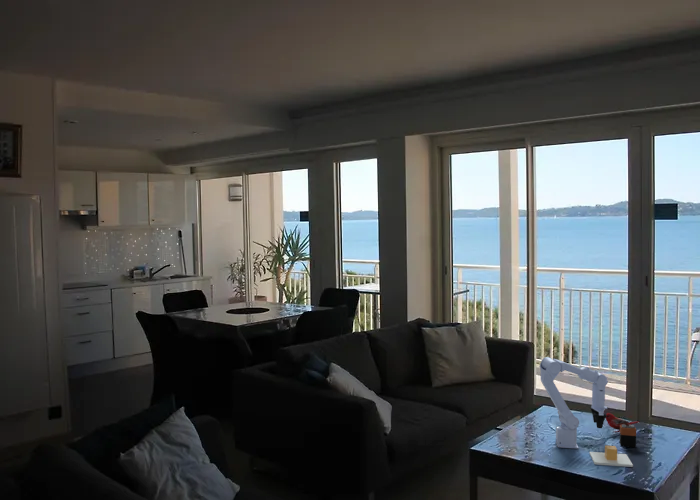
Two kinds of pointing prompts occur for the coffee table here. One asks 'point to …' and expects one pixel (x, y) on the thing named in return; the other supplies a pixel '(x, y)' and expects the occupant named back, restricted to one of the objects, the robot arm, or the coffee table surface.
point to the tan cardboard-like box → (610, 452)
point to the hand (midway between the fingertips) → (597, 425)
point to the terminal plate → (601, 460)
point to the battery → (628, 435)
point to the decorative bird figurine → (617, 422)
